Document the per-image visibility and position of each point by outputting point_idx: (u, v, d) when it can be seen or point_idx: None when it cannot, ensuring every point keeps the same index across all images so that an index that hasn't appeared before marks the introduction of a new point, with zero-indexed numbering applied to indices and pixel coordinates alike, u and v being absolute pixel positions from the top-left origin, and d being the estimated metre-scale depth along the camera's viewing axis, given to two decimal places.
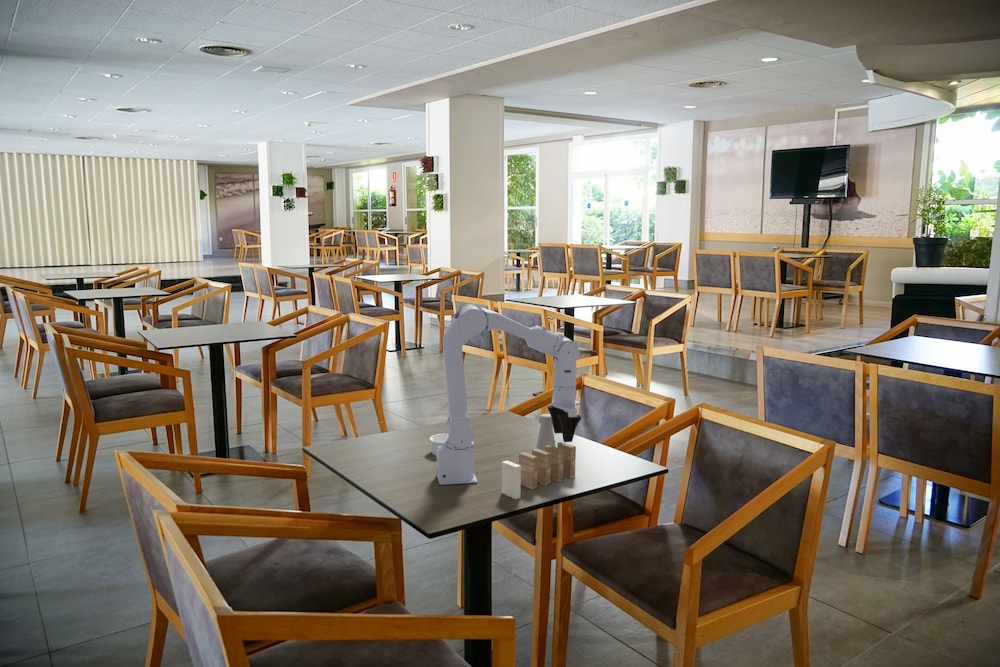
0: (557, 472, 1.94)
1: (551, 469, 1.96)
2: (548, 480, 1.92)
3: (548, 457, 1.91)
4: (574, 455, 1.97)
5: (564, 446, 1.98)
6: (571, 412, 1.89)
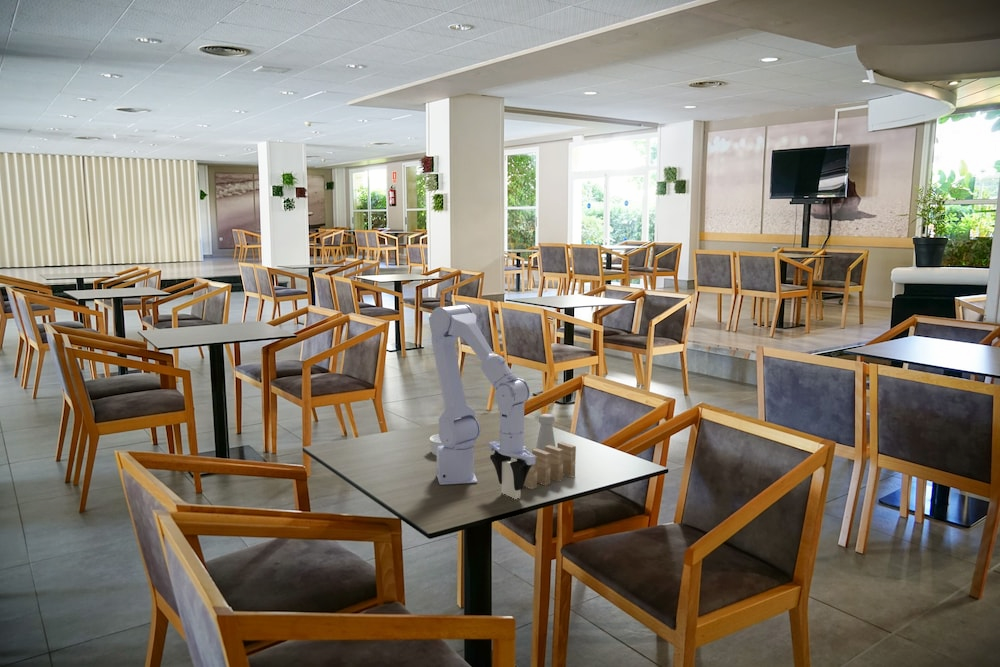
0: (557, 472, 1.94)
1: (551, 469, 1.96)
2: (548, 480, 1.92)
3: (548, 457, 1.91)
4: (574, 455, 1.97)
5: (564, 446, 1.98)
6: (530, 459, 1.77)
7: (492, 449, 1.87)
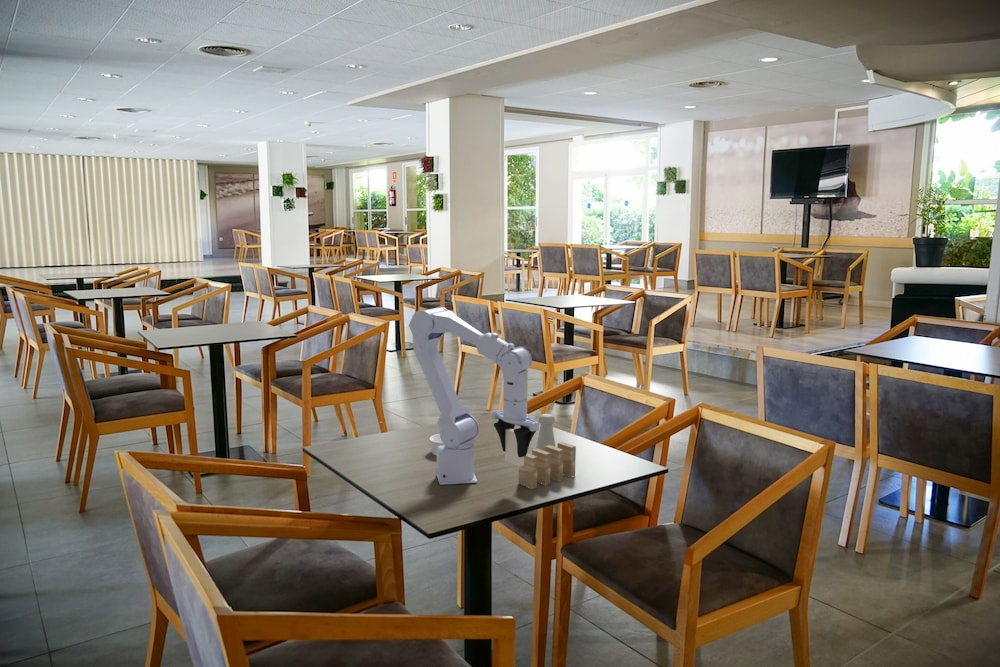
0: (557, 472, 1.94)
1: (551, 469, 1.96)
2: (548, 480, 1.92)
3: (548, 457, 1.91)
4: (574, 455, 1.97)
5: (564, 446, 1.98)
6: (534, 426, 1.79)
7: (496, 417, 1.89)
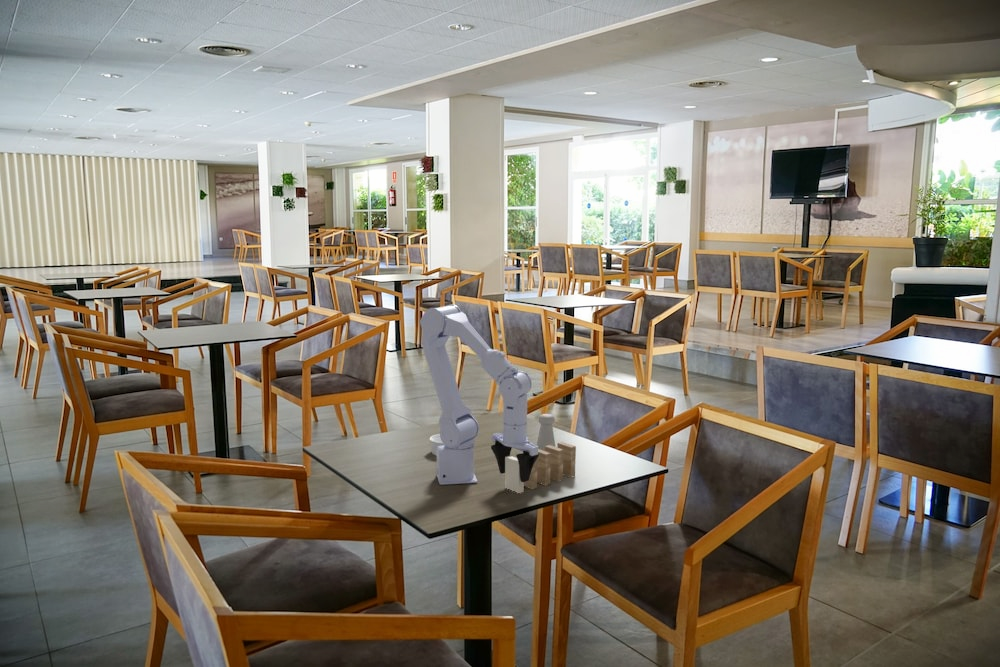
0: (557, 472, 1.94)
1: (551, 469, 1.96)
2: (548, 480, 1.92)
3: (548, 457, 1.91)
4: (574, 455, 1.97)
5: (564, 446, 1.98)
6: (533, 450, 1.80)
7: (495, 440, 1.90)
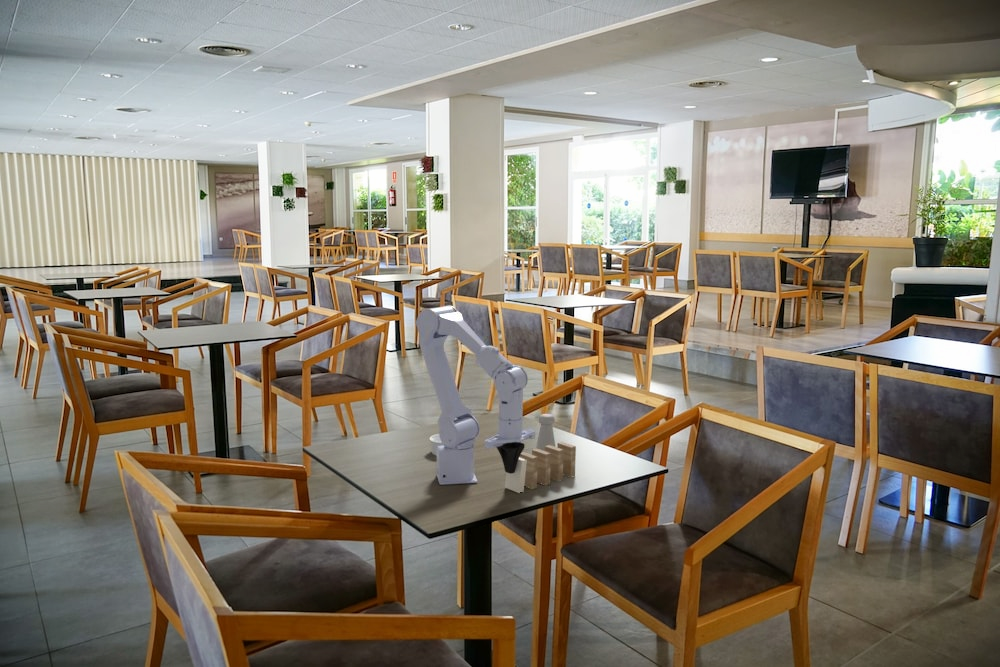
0: (557, 472, 1.94)
1: (551, 469, 1.96)
2: (548, 480, 1.92)
3: (548, 457, 1.91)
4: (574, 455, 1.97)
5: (564, 446, 1.98)
6: (485, 443, 1.80)
7: None
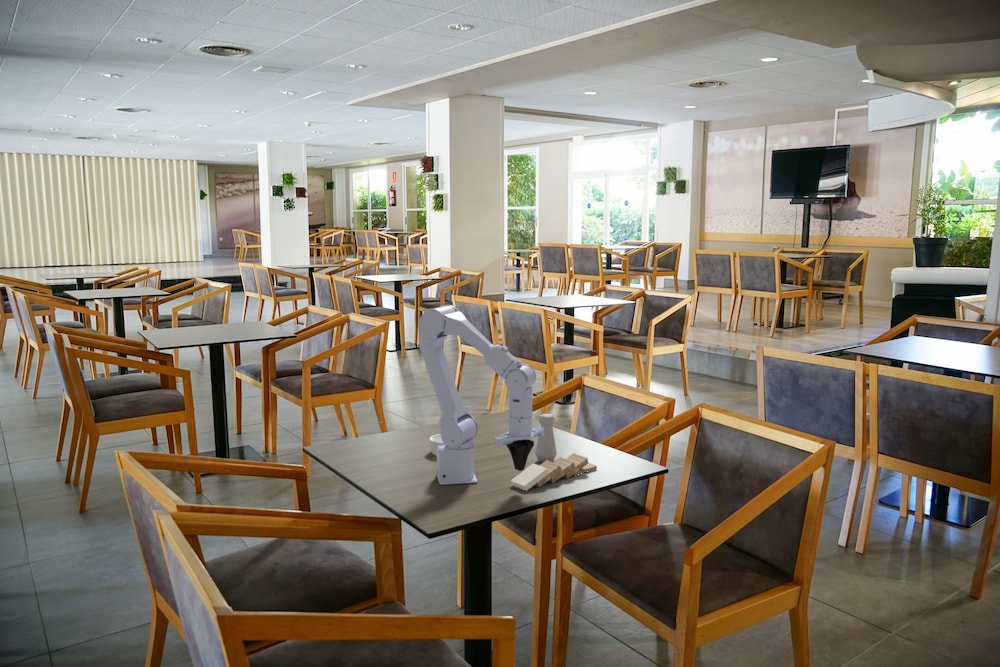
0: None
1: None
2: (555, 479, 1.93)
3: (571, 467, 1.96)
4: None
5: (588, 463, 2.05)
6: (495, 440, 1.82)
7: None
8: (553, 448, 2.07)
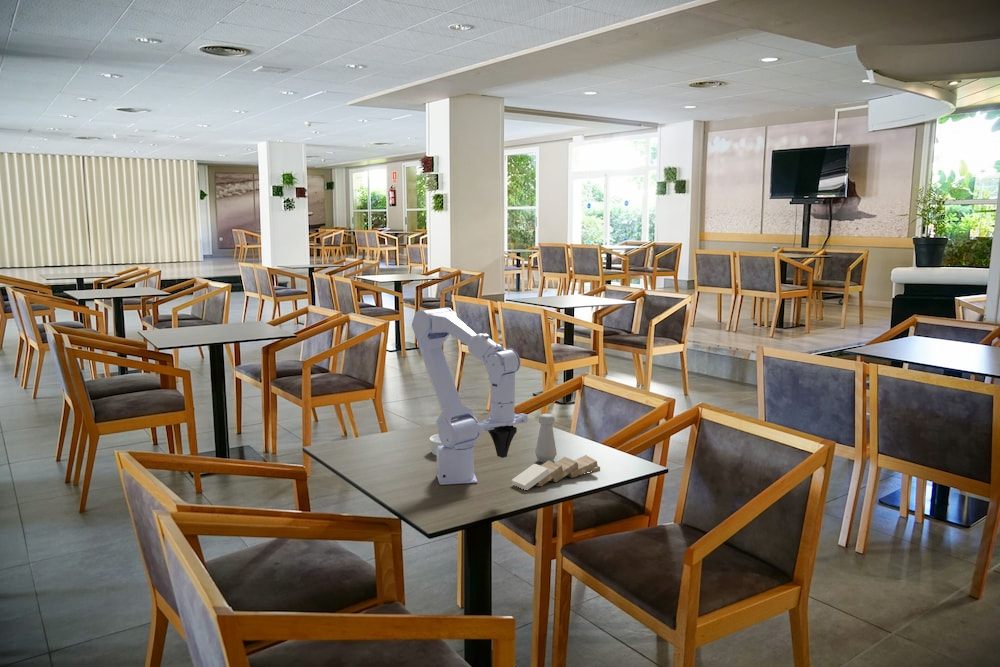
0: (577, 468, 1.97)
1: None
2: (557, 479, 1.93)
3: (575, 466, 1.96)
4: None
5: None
6: (477, 426, 1.78)
7: None
8: (553, 448, 2.07)
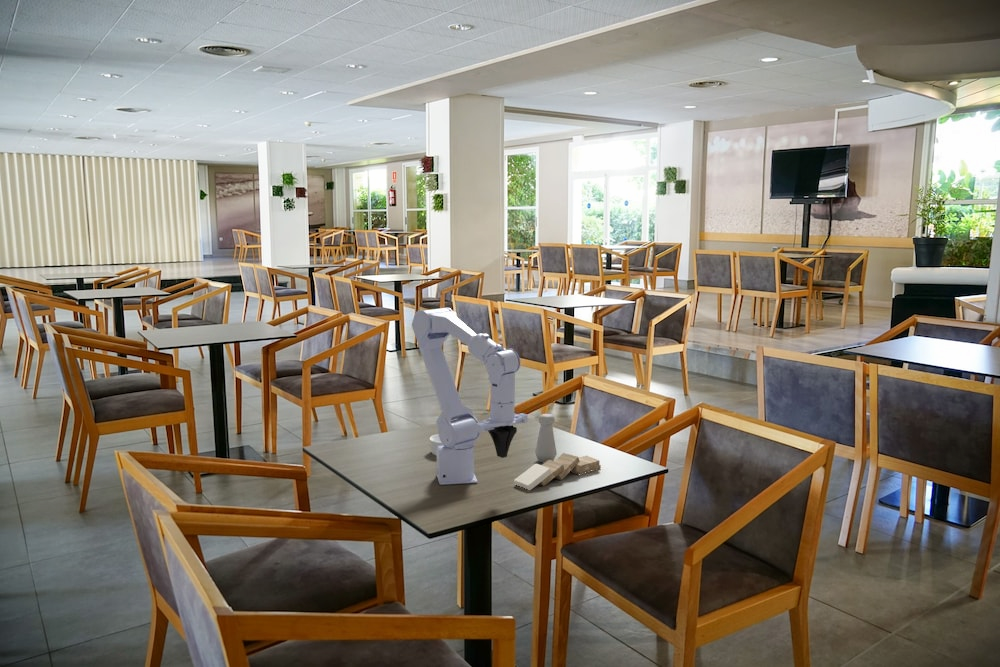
0: (581, 464, 1.99)
1: None
2: (563, 476, 1.95)
3: (576, 461, 1.98)
4: None
5: None
6: (477, 426, 1.78)
7: None
8: (553, 448, 2.07)
